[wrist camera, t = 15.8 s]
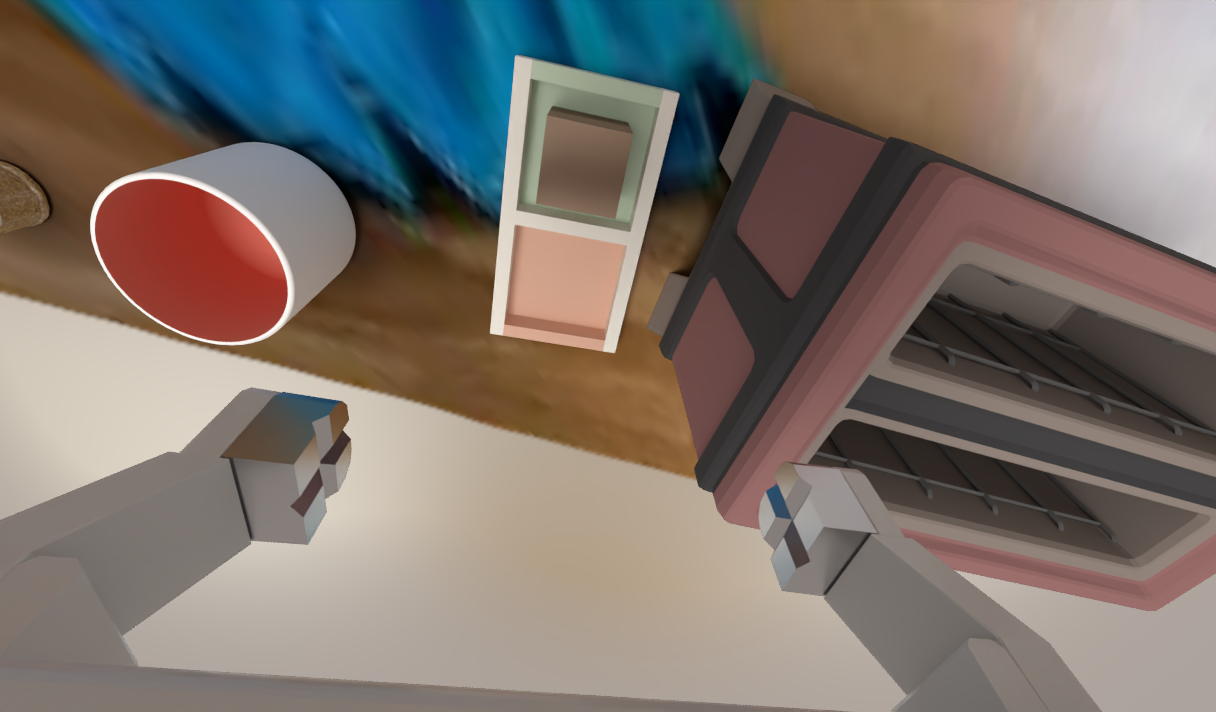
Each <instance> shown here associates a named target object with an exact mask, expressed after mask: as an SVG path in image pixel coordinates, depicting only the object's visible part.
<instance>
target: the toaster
mask: <svg viewBox="0 0 1216 712" xmlns="http://www.w3.org/2000/svg"><path fill="white" fill-rule="evenodd" d="M719 160H720V162H721V163H722V165H723V167H724V169H725V171H726V172H727V174H728V176H729V178H730V180H731V181H732V183H731V186H730V189H729V191H728V193H727V195H726V197H725V200H724V202H723V204H722V206H721V208H720V211H719V213H718V215H717V217H716V219H715V222H714V224H713V226H712V228H711V230H710V233H709V235H708V237H707V239H706V241H705V244H704V246H703V248H702V250H701V252H700V255H699V257H698V259H697V261H696V263H695V265H694V268H693V270H692V272H691V274H690V276H689V277H686V276H683V275H679V274H675V273H670V274H669V276H668V278H667V280H666V283H665V285H664V287H663V290H662V292H661V294H660V297H659V299H658V301H657V304H656V306H655V308H654V311H653V313H652V315H651V318H650V320H649V322H648V325H647V328H648V329H649V330H651V331H653V332H655V333H657V334H658V335H660V336H662V340H661V342H660V345H659V347H660V349H661V352H662V354H663V356H664V357H665V358H667V359H669V360H672V361H673V364H674V367H675V371H676V375H677V379H678V383H679V387H680V390H681V394H682V398H683V402H684V406H685V410H686V413H687V417H688V421H689V425H690V429H691V433H692V436H693V440H694V444H695V448H696V452H697V456H698V459H699V460H698V462H697V464H696V466H695V468H694V470H695V474H696V478H697V482H698V486H699V487H700V488H702V489H703V490H706V491H708V492H712V493H713V496H714V499H715V503H716V507H717V510H718V512H719V513H720V514H721V516H722V517H723V519H724V520H725V521H727V522H728V523H731V524H736V525H741V526H746V527H750V528H755V529H760V525H759V517H758V516H759V507H760V502H761V500H762V498H763V496H764V494H765V491H767V490H768V489H770V488H771V487H773V486H775V485H776V484H777V482H776V479H775V476H774V475H775V473H776V471H777V469H778V467H779V466H780V465H781V464H782V463H784V462H785V461H788V462H796V463H804V464H812V465H819V466H827V467H839V468H848V469H857V470H859V471H860V472H862V473H863V474H864V475H865V476H866V477H867V479H868V480H869V482H870V484H871V485H872V487H873V488H874V490H875V491H876V493H877V494H878V496H879V498H880V499H881V501H882V502H883V504H884V505H885V507H886V508H887V510H888V512H889V513H890V515H891V516H892V518H893V519H894V521H895V522H896V524H897V526H898V527H899V529H900V530H901V532H902V533H903V535H904V536H905V538H911V539H914V540H915V541H917V542H918V543H919V544H920V545H922V546H923V547H924V548H926V549H927V550H928V551H930V552H931V553H932V554H934V555H935V556H936V557H937V558H939V559H940V560H941V561H943V562H944V563H945V564H947V565H948V566H949V567H951V568H952V569H953V570H958V571H962V572H967V573H972V574H977V575H981V576H986V577H990V578H995V579H1000V580H1005V581H1009V582H1014V583H1019V584H1024V585H1028V586H1033V587H1038V588H1042V589H1048V590H1052V591H1057V592H1061V593H1066V594H1071V595H1076V596H1080V597H1085V598H1090V599H1094V600H1099V601H1103V602H1108V603H1113V604H1118V605H1123V606H1127V607H1132V608H1136V609H1141V610H1146V611H1155V610H1157V609H1160V608H1162V607H1163V606H1165V605H1166V604H1168V603H1169V602H1171V601H1173V600H1174V599H1176V598H1177V597H1179V596H1181V595H1182V594H1184V593H1185V592H1187V591H1188V590H1190V589H1192V588H1193V587H1195V586H1196V585H1198V584H1199V583H1201V582H1203V581H1204V580H1206V579H1208V578H1209V577H1211V576H1212V575H1214V574H1215V573H1216V268H1215V267H1213V266H1210V265H1208V264H1206V263H1203V262H1201V261H1198V260H1196V259H1193V258H1191V257H1189V256H1186V255H1184V254H1181V253H1179V252H1176V251H1174V250H1172V249H1169V248H1167V247H1164V246H1162V245H1159V244H1157V243H1155V242H1152V241H1150V240H1147V239H1145V238H1142V237H1140V236H1138V235H1135V234H1133V233H1130V232H1128V231H1125V230H1123V229H1121V228H1118V227H1116V226H1113V225H1111V224H1108V223H1106V222H1104V221H1101V220H1099V219H1096V218H1094V217H1091V216H1089V215H1087V214H1084V213H1082V212H1079V211H1077V210H1074V209H1072V208H1070V207H1067V206H1065V205H1062V204H1060V203H1057V202H1055V201H1053V200H1050V199H1048V198H1045V197H1043V196H1040V195H1038V194H1036V193H1033V192H1031V191H1028V190H1026V189H1023V188H1021V187H1019V186H1016V185H1014V184H1011V183H1009V182H1006V181H1004V180H1002V179H999V178H997V177H994V176H992V175H989V174H987V173H985V172H982V171H980V170H977V169H975V168H972V167H970V166H968V165H965V164H963V163H960V162H958V161H955V160H953V159H951V158H948V157H946V156H943V155H941V154H938V153H936V152H934V151H931V150H929V149H926V148H924V147H921V146H919V145H917V144H914V143H910V142H907V141H904V140H901V139H898V138H893V137H890V138H889V139H886V138H884V137H881V136H879V135H876V134H874V133H871V132H869V131H866V130H864V129H861V128H859V127H857V126H854V125H852V124H849V123H847V122H844V121H842V120H839V119H837V118H834V117H832V116H829V115H827V114H824V113H822V112H819V111H817V109H816V108H815V107H814V106H813V105H812V103H811V102H810V101H809V100H806V99H804V98H802V97H799V96H797V95H794V94H792V93H789V92H787V91H784V90H782V89H779V88H777V87H775V86H772V85H770V84H767V83H765V82H763V81H760V80H758V79H753V81H752V83H751V86H750V88H749V90H748V93H747V95H746V97H745V100H744V102H743V104H742V106H741V109H740V111H739V113H738V116H737V118H736V120H735V123H734V125H733V127H732V130H731V132H730V134H729V137H728V139H727V141H726V144H725V146H724V148H723V150H722V153H721V155H720V157H719Z"/></svg>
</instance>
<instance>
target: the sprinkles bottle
mask: <svg viewBox="0 0 1216 712" xmlns="http://www.w3.org/2000/svg"><path fill="white" fill-rule="evenodd" d="M49 210H50V209H49V205H48V201H47V197H46V196H45V194H44V192H43V190H42V189H41V188H40V186H39V185H38V184H37V183H36V182H35V181H34V180H33V179H32V178H30V177H29V175H28V174H27V173H25V172H23V171H21V170H20V169H19V168H17V167H15V166H13V165H11V164H9V163H5V162H2V161H0V235H2V234H4V233H7V232H11V231H14V230H16V229H20V228H23V227H30V226H35V225H38V224H41V223H43V222H44V220H46V219H47V217H48V216H49Z"/></svg>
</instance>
